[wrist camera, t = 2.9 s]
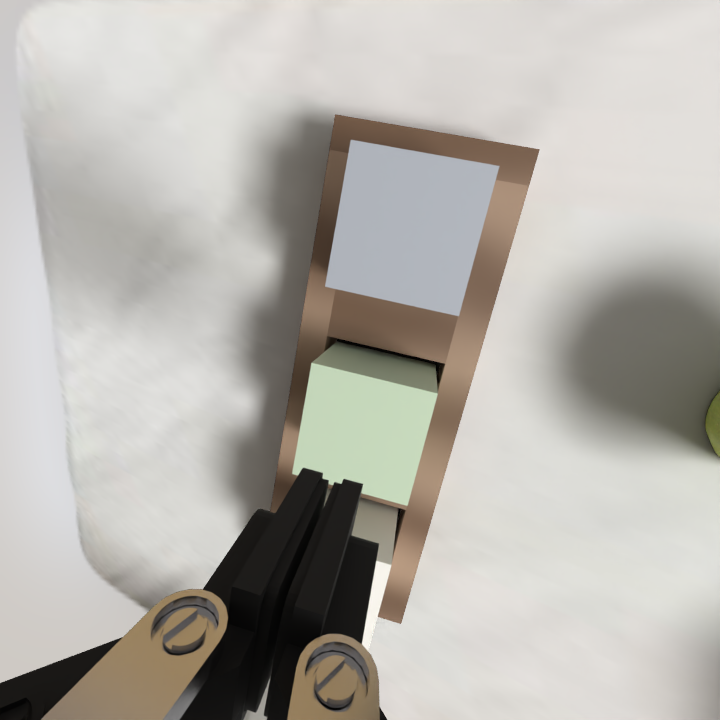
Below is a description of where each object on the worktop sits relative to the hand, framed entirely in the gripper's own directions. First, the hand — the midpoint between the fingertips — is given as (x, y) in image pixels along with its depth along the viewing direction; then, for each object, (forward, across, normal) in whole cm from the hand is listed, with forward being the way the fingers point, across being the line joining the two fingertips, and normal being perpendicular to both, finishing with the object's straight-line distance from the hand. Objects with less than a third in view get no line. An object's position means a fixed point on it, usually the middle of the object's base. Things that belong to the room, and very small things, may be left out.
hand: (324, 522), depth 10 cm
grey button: (+12, 0, -8) cm, 14 cm away
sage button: (+12, 0, +1) cm, 12 cm away
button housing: (+14, 0, +1) cm, 14 cm away
